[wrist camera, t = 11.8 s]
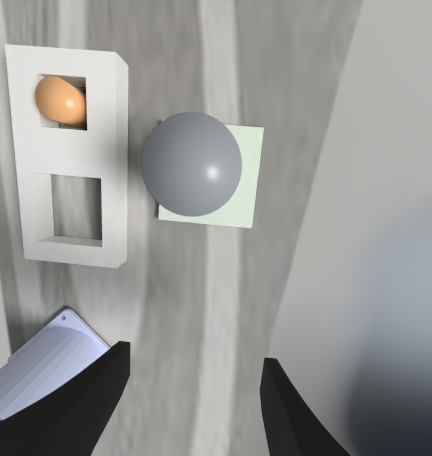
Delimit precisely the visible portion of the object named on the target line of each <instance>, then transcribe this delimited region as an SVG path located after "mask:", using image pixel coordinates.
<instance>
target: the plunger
mask: <svg viewBox="0 0 432 456" xmlns="http://www.w3.org/2000/svg"><path fill="white" fill-rule="evenodd" d="M35 100H36V104H37V106H38V108H39V110H40V111H41V112H42V113H43V114H44V115H45V116H46V117H48V118H50V119H53V120H56V121H58V122H61V123H64V124H67V125H70V126H73V127H83V126H85V125H86V124H87V101H86V94H85V93H84V92H82V91H81V90H79V89H78V88H76V87H74V86H73V85H71V84H69V83H68V82H66V81H64V80H63V79H61V78H59V77H56V76H48V77H45V78H43V79H42V80H41V81H40V82H39V83H38V85H37V87H36V90H35Z"/></svg>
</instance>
